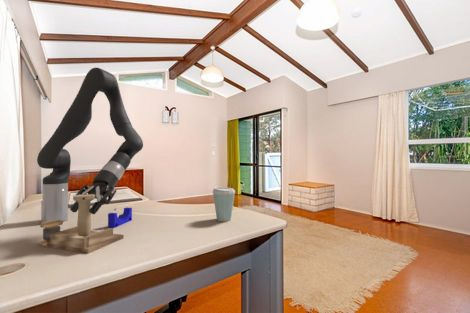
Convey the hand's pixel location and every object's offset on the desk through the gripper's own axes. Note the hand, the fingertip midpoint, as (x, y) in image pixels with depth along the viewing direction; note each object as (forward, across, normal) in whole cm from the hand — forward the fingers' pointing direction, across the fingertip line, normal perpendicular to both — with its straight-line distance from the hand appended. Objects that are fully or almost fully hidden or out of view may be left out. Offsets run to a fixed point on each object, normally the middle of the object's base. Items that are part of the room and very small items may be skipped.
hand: (81, 212), depth 78 cm
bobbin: (+9, -11, +6) cm, 15 cm away
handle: (+6, 0, +8) cm, 10 cm away
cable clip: (-9, -7, +24) cm, 27 cm away
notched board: (+6, 0, +9) cm, 11 cm away
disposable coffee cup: (-23, +35, +38) cm, 56 cm away
